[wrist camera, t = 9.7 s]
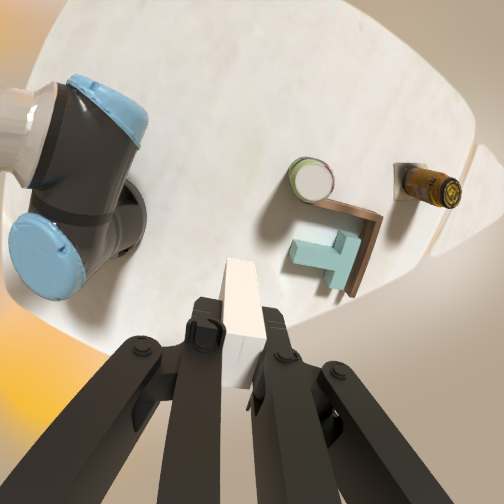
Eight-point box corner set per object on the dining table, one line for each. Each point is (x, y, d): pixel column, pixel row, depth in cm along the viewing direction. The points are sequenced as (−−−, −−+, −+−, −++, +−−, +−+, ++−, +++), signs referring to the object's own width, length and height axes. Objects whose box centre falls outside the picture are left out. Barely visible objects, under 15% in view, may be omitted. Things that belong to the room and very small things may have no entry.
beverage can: (323, 188, 46) (350, 201, 35) (283, 195, 46) (298, 211, 35) (318, 152, 44) (344, 154, 33) (276, 159, 44) (289, 163, 33)
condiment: (425, 198, 48) (463, 213, 36) (393, 200, 47) (430, 215, 36) (426, 163, 45) (466, 171, 34) (393, 162, 45) (432, 169, 34)
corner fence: (276, 276, 52) (280, 286, 48) (299, 191, 46) (305, 195, 42) (347, 288, 54) (354, 297, 50) (373, 211, 48) (383, 216, 44)
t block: (283, 271, 51) (287, 281, 48) (298, 220, 48) (303, 226, 44) (336, 280, 53) (343, 290, 49) (352, 233, 49) (361, 240, 46)
